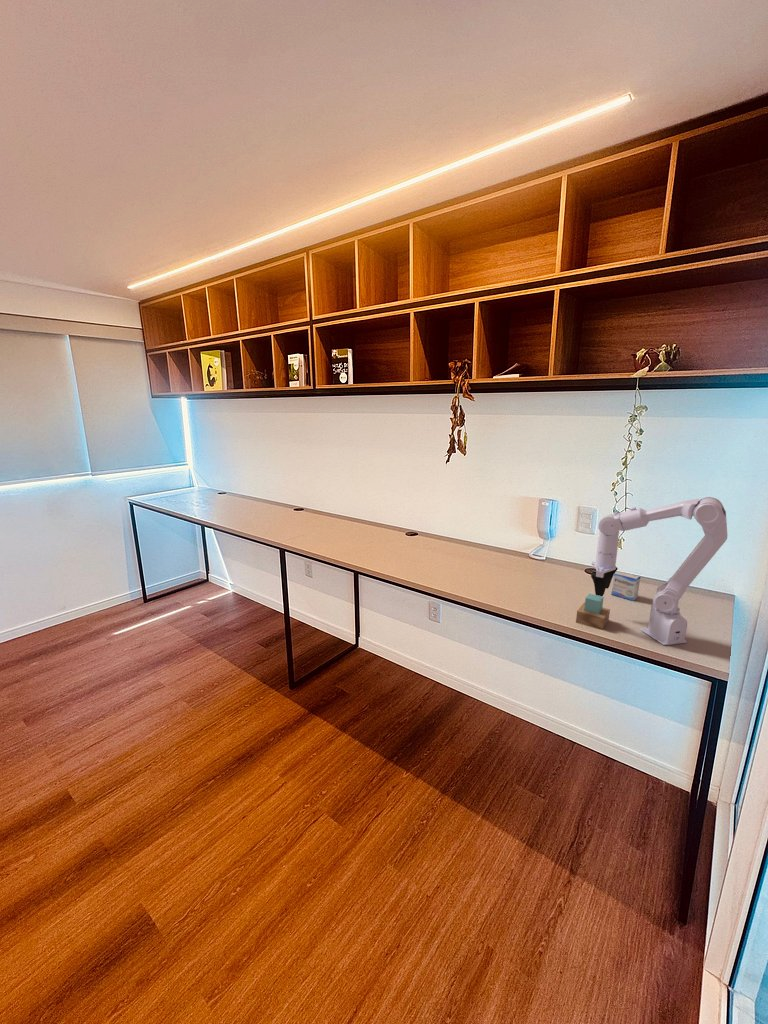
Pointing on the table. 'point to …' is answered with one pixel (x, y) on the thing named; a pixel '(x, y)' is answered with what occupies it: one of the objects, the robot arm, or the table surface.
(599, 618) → the walnut block
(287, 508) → the table surface
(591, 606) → the teal cube
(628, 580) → the medicine box
